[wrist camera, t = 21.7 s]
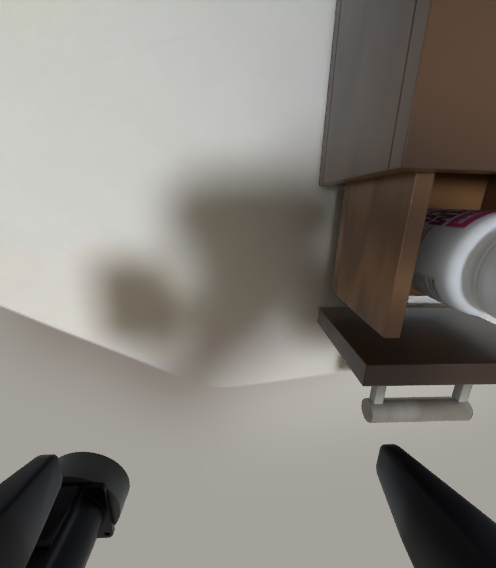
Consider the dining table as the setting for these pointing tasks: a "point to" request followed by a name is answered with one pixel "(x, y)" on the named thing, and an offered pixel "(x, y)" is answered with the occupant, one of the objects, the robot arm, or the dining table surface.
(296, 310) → the dining table surface
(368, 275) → the drawer
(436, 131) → the cabinet
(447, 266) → the pill bottle
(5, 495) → the robot arm
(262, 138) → the dining table surface
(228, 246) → the dining table surface
